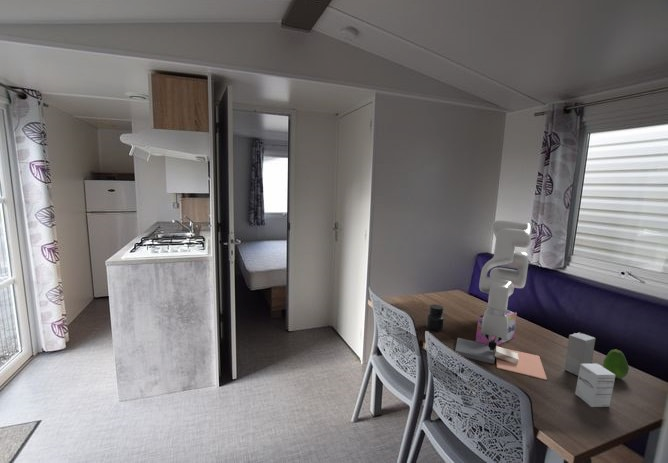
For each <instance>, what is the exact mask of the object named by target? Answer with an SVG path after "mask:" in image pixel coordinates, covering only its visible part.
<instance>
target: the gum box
mask: <svg viewBox="0 0 668 463" xmlns="http://www.w3.org/2000/svg"><path fill="white" fill-rule="evenodd" d="M509 311H510V314H509V313H508V314H507V316H508V329H507V340H500V341H499V342H497V343H496V346H499V345H501V344H503V343H505V342H507V341H510V340H512V339H514V338H515V333H516V323H517V315H518V314H517V312H516V311H514V312H513V311H511V310H509ZM483 317H484V314H481V315H478V319H477V325H476V326H477V327H476V332H475V333H476V335H475V340H474V341H475V342H480V343H485V344H489V340H488V339H487V338H486V337H485V336H483V335H481V330H482V322H483ZM491 337H492V340H494V339H495V336H491Z"/></svg>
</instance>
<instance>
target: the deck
mask: <svg viewBox="0 0 668 463" xmlns="http://www.w3.org/2000/svg"><path fill="white" fill-rule="evenodd" d="M475 341H476V340H471V339H470V340H469V339H465V338H460V337H457V340H456V345H455V351H456V352H458V353H459V354H461V355H463V356H465V357H464V358H468V359H472V360H476V361H480V362H484V363H488V364H489V363H490V364H494V365H495V361H496V360H495V359H496V357H495V354H494V351H492V350H490V348H489V347H488V346H489V344H485V343H480V342H475ZM463 356H462V357H463Z"/></svg>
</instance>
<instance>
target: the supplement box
mask: <svg viewBox="0 0 668 463" xmlns="http://www.w3.org/2000/svg"><path fill="white" fill-rule="evenodd" d="M615 376H616V375H615V374H613V373H612V372H610V371H609V370H607V369H605V368H604V366H603V365H601V364H599V363H593V362H592V364H580V370H579V375H578V376H577V381H576V382H577V383H576V387H575V394H574V395H576V396H577V397H578V398H580V399H581V400H582V401H584V402H585V403H586V404H587V405H588V406H589V407H591V408H602V407H603V408H604V407H606V408H607V407H608V408H609V407H610V404H611V399H612V394H613V390H614V386H615V379H616V378H615Z"/></svg>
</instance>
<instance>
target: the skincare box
mask: <svg viewBox="0 0 668 463" xmlns="http://www.w3.org/2000/svg"><path fill="white" fill-rule="evenodd" d="M595 344H596V337H594V336H591V335H589V334H585V333H582V332H577V333H576V332H574V333H573V334H569V335H568V342H567V350H566V351H567V352H566V359H565V368H564V370H565V371H567V372H569V373H571V374H573V375H576V376H577V377H578V375H579V370H580V364H593V359H594V353H595Z"/></svg>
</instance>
